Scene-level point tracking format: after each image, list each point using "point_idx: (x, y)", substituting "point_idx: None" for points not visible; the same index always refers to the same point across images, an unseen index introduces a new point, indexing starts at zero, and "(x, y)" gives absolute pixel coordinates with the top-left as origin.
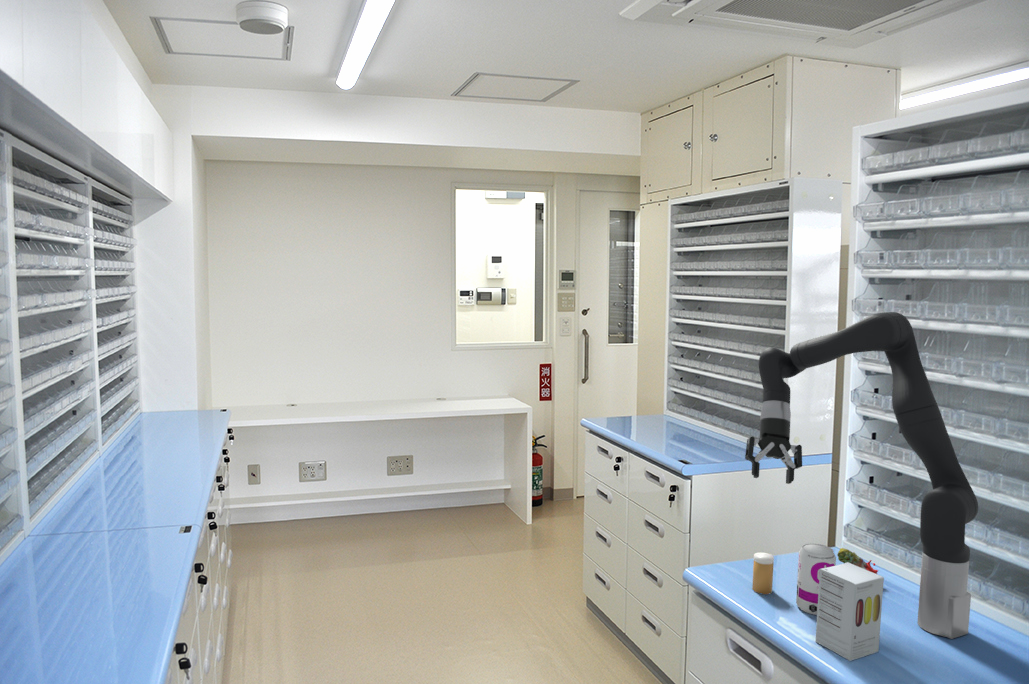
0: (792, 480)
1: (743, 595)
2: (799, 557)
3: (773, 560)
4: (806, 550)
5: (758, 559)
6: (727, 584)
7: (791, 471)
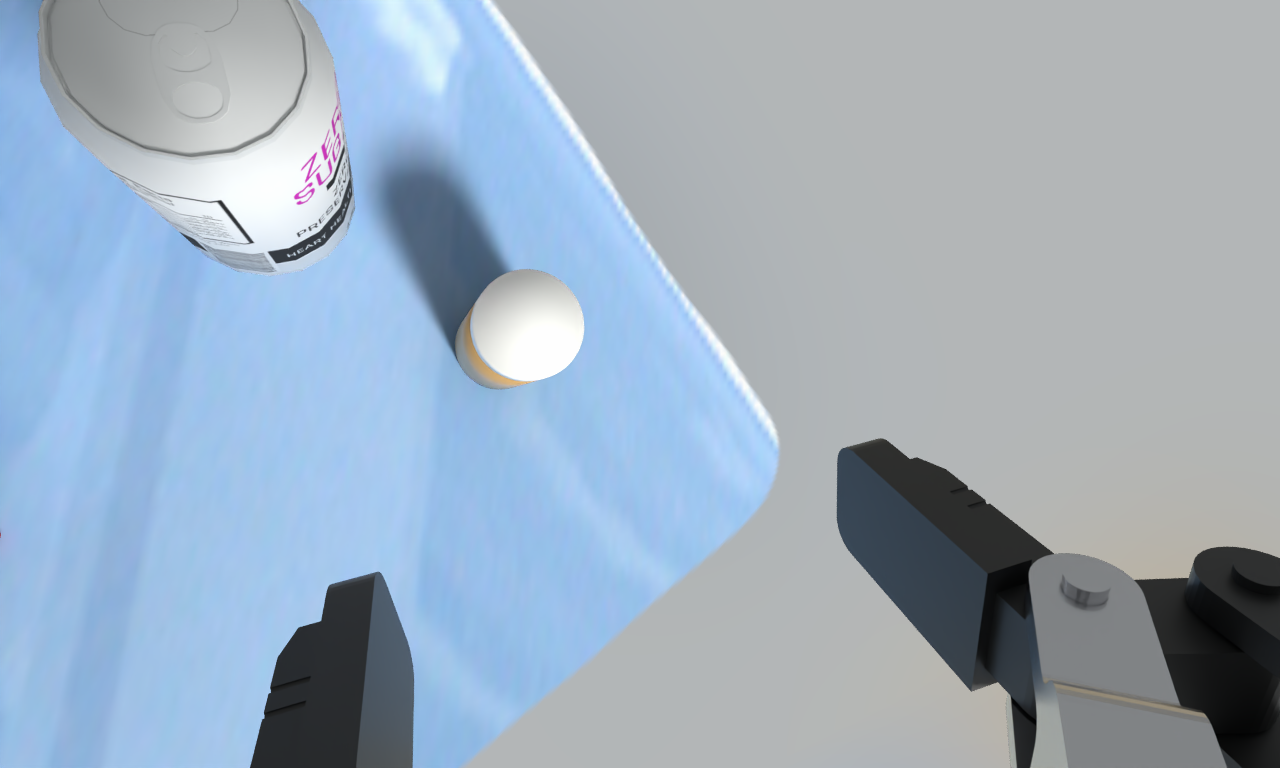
0: (309, 631)
1: (582, 268)
2: (335, 82)
3: (474, 308)
4: (283, 16)
5: (560, 282)
6: (644, 364)
7: (314, 733)
